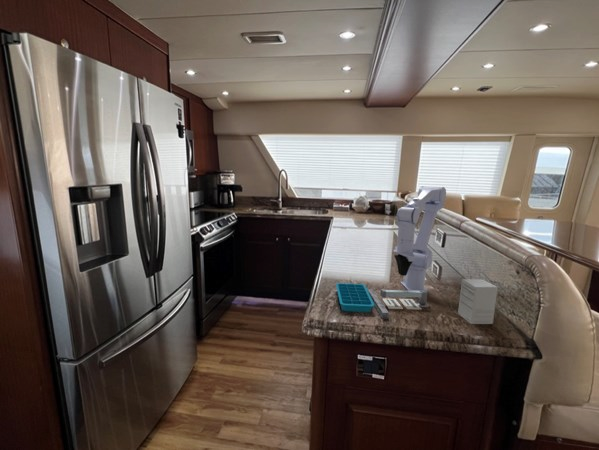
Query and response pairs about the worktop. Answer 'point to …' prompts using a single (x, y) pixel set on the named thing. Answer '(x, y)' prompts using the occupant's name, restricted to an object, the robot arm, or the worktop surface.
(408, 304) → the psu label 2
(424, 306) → the pivot base
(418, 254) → the robot arm
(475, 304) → the supplement box
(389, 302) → the psu label
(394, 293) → the bar
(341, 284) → the ice cube tray
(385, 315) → the rail
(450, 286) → the worktop surface
